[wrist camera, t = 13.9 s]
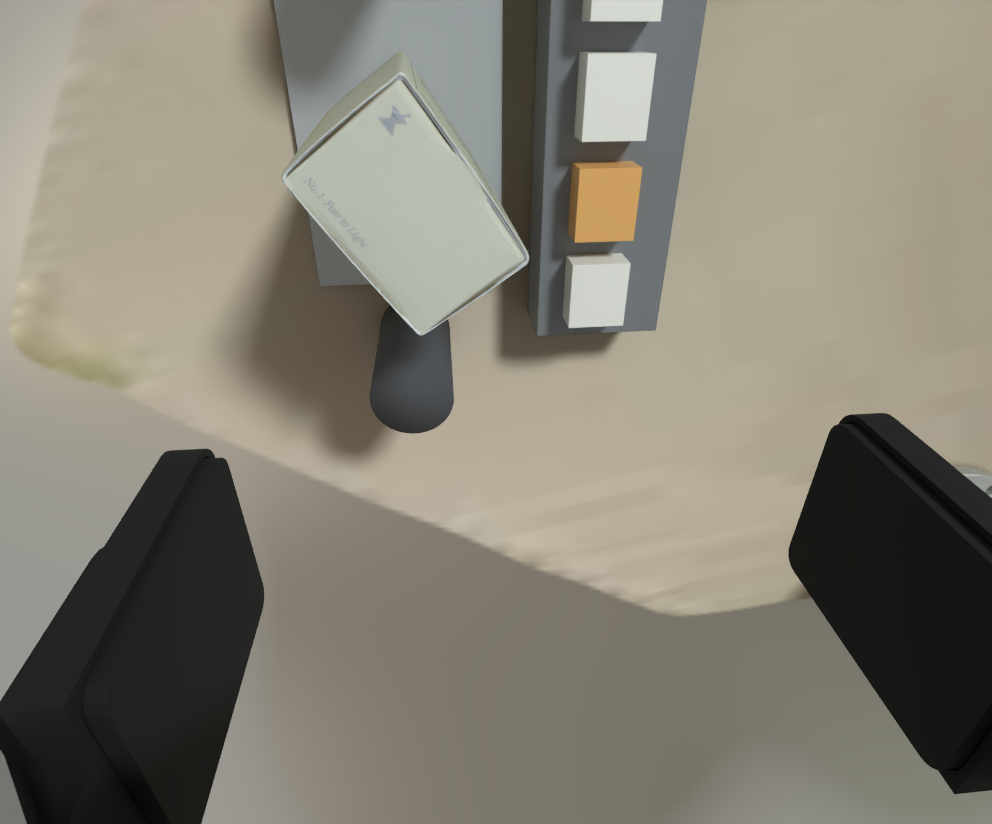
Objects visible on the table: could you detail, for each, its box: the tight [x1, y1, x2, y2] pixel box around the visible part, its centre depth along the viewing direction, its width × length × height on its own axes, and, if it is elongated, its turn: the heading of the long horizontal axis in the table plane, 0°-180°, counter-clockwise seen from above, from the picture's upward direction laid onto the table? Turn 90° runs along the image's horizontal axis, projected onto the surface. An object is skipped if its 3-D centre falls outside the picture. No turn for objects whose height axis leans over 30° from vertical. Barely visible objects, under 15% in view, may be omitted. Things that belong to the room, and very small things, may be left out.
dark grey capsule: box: [370, 306, 454, 433], centre depth 29 cm, size 4×4×7 cm
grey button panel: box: [273, 0, 707, 336], centre depth 26 cm, size 16×17×4 cm
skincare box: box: [282, 51, 529, 336], centre depth 22 cm, size 6×4×12 cm
